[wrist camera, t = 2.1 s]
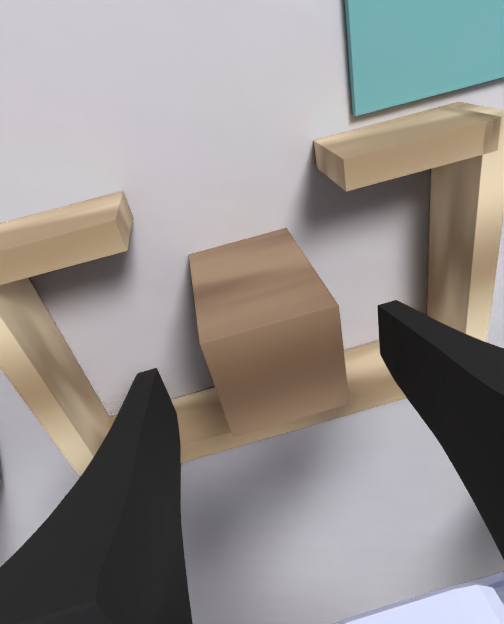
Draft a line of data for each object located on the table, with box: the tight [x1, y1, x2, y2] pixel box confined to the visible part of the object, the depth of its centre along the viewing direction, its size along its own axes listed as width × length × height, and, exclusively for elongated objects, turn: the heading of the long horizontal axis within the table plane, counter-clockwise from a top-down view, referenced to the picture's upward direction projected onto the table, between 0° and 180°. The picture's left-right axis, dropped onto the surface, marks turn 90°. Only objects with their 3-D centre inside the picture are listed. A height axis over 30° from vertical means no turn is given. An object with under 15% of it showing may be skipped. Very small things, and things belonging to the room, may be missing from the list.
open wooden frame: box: [0, 102, 504, 477], centre depth 17 cm, size 11×18×3 cm, turn 102°
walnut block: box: [189, 228, 350, 438], centre depth 15 cm, size 4×4×6 cm
